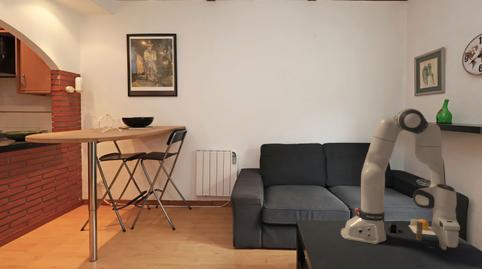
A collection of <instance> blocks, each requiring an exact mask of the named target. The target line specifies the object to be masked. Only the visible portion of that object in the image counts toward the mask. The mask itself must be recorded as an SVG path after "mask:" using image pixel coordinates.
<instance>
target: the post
mask: <svg viewBox="0 0 482 269" xmlns="http://www.w3.org/2000/svg"><path fill="white" fill-rule="evenodd" d="M422 226H423V223H422V222H417V228H416V236H415V238H416V240H417V241H423V234H422Z"/></svg>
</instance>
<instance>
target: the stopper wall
mask: <svg viewBox="0 0 482 269" xmlns="http://www.w3.org/2000/svg"><path fill="white" fill-rule="evenodd" d="M419 220H420V219H413V218H411V219H410V225H414V226H417V222H418V221H419Z"/></svg>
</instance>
